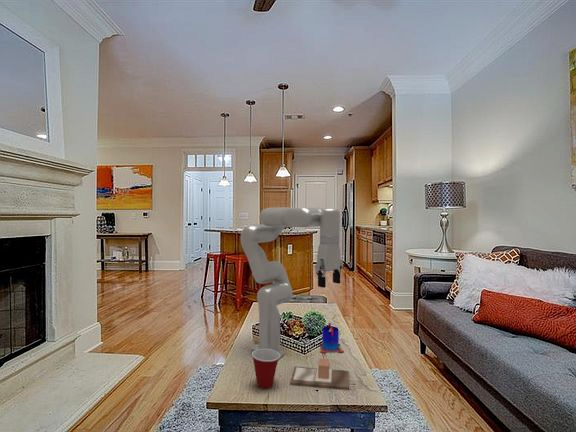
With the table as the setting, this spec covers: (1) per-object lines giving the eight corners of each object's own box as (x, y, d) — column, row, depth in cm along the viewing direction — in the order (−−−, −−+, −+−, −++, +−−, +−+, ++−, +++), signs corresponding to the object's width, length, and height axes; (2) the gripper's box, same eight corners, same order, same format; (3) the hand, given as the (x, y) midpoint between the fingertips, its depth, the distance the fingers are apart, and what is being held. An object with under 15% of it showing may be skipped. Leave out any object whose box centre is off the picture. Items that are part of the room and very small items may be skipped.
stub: (315, 382, 130) (315, 367, 130) (316, 369, 140) (317, 356, 140) (331, 383, 130) (331, 368, 129) (331, 371, 139) (332, 357, 139)
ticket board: (290, 384, 130) (290, 380, 130) (294, 368, 143) (294, 365, 143) (349, 390, 127) (349, 385, 127) (348, 373, 140) (348, 369, 140)
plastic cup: (282, 391, 126) (282, 358, 126) (252, 393, 124) (252, 360, 124) (277, 376, 137) (278, 346, 136) (250, 378, 135) (250, 348, 134)
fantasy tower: (345, 353, 159) (345, 327, 159) (320, 354, 158) (320, 328, 158) (339, 343, 171) (340, 319, 170) (316, 344, 170) (316, 319, 169)
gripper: (334, 238, 142) (334, 280, 142) (307, 241, 129) (307, 287, 129) (350, 239, 137) (349, 282, 137) (324, 242, 124) (323, 290, 124)
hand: (329, 284), depth 133 cm, fingers open, 9 cm apart
